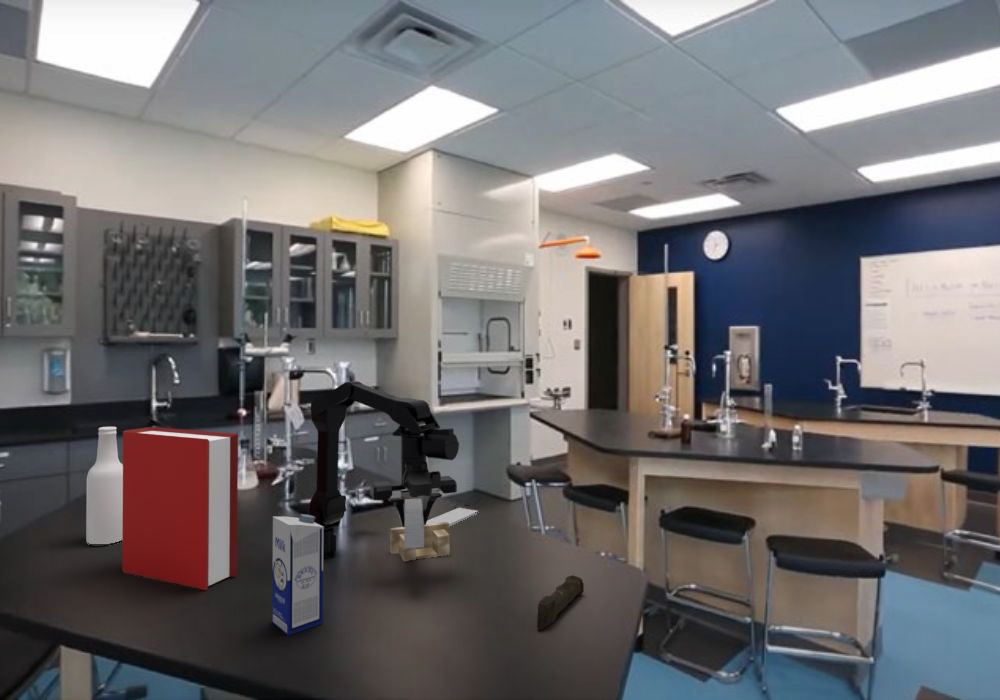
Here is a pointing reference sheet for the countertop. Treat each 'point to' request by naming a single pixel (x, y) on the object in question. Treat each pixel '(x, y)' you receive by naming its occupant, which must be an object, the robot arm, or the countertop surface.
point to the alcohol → (105, 492)
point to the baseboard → (454, 516)
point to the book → (180, 505)
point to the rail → (414, 523)
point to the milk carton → (297, 573)
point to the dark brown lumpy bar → (558, 601)
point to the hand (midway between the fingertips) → (413, 525)
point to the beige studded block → (433, 542)
